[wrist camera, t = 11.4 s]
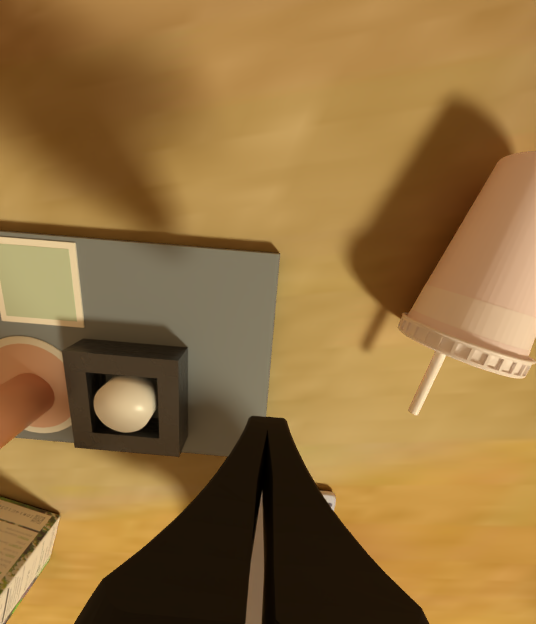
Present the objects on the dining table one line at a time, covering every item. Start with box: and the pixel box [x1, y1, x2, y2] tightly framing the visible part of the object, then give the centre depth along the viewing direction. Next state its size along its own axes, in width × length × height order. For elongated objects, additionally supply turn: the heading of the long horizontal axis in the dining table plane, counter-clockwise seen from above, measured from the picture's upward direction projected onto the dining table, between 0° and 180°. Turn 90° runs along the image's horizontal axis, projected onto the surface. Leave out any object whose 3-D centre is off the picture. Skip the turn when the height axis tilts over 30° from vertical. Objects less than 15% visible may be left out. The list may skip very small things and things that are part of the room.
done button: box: [94, 375, 158, 432], centre depth 19 cm, size 4×4×2 cm
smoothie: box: [398, 151, 536, 415], centre depth 16 cm, size 6×6×14 cm
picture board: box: [0, 230, 280, 456], centre depth 20 cm, size 15×20×1 cm
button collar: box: [62, 338, 188, 457], centre depth 20 cm, size 7×7×2 cm
